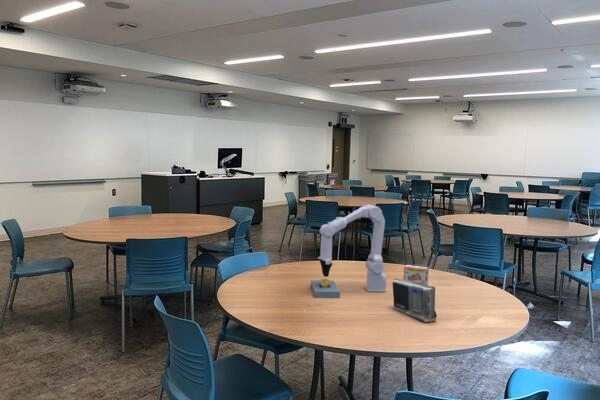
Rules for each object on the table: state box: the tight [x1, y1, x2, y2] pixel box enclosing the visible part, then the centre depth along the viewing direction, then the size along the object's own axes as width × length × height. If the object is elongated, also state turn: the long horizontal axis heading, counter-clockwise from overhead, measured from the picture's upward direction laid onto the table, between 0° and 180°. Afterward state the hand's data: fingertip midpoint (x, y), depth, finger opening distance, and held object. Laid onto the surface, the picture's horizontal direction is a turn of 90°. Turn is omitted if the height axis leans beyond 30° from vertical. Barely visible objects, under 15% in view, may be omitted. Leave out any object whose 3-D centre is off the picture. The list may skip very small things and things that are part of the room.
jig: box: [310, 279, 341, 299], centre depth 229 cm, size 12×20×3 cm, turn 5°
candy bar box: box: [402, 264, 430, 286], centre depth 219 cm, size 11×5×16 cm, turn 65°
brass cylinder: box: [321, 278, 330, 287], centre depth 229 cm, size 4×4×6 cm
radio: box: [390, 278, 438, 323], centre depth 200 cm, size 23×9×15 cm, turn 23°
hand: (325, 275), depth 229 cm, fingers open, 4 cm apart
